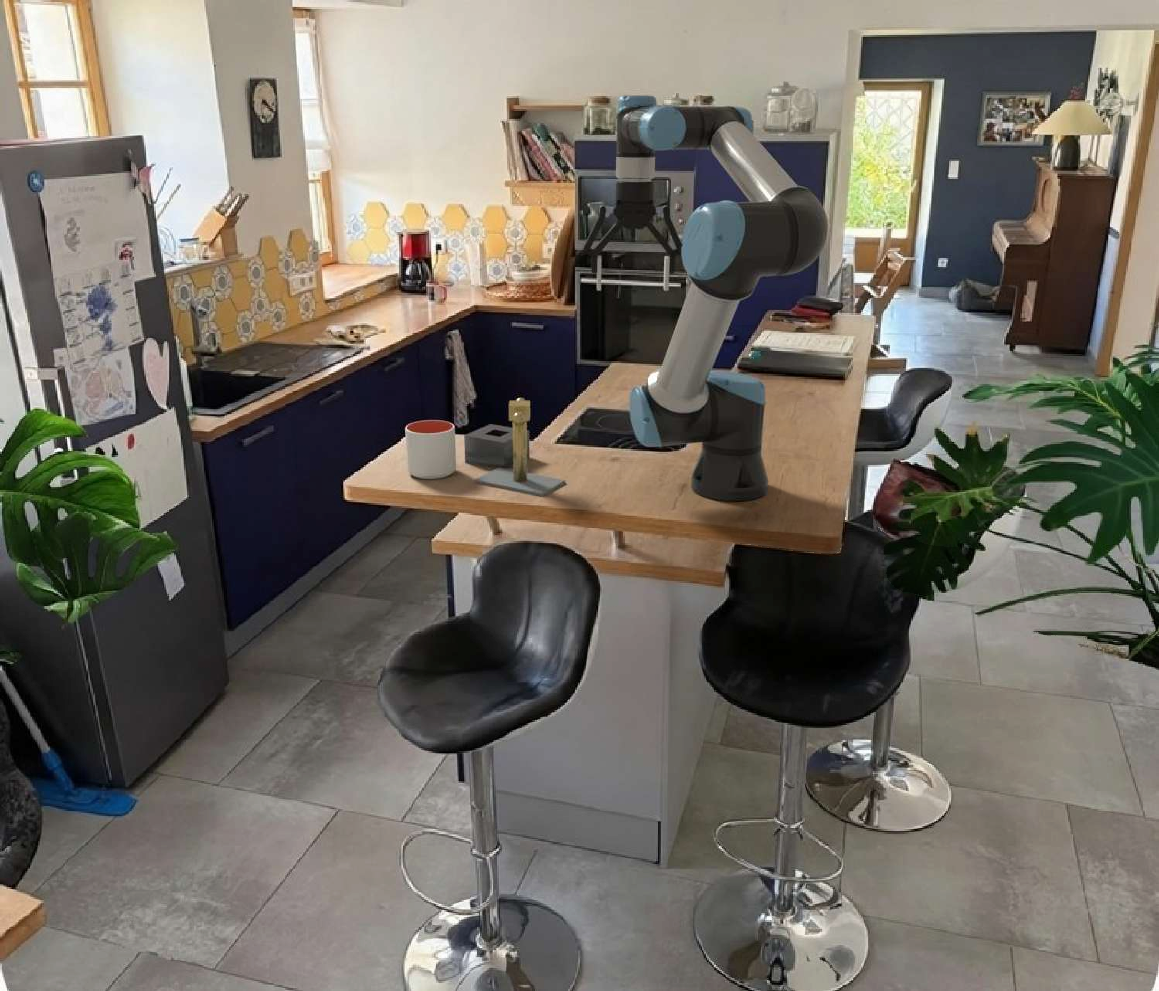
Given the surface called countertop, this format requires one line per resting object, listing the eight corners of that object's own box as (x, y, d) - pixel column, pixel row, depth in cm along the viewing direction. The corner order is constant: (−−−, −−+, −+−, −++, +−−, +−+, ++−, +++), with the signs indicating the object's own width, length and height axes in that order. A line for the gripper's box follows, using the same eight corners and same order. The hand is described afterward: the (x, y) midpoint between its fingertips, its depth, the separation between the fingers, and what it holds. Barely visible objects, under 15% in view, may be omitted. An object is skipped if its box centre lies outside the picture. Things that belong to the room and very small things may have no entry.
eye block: (529, 457, 222) (529, 430, 220) (504, 470, 214) (503, 442, 212) (491, 450, 226) (490, 424, 224) (465, 462, 218) (464, 435, 216)
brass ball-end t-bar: (529, 491, 200) (528, 412, 194) (508, 491, 200) (507, 412, 194) (531, 469, 212) (530, 394, 207) (511, 469, 212) (510, 394, 207)
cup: (447, 482, 206) (445, 435, 203) (400, 479, 208) (397, 432, 205) (462, 467, 215) (460, 421, 212) (417, 463, 217) (415, 418, 214)
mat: (565, 482, 206) (565, 480, 206) (542, 496, 199) (542, 493, 199) (499, 469, 214) (499, 467, 213) (474, 482, 206) (474, 479, 206)
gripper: (696, 179, 203) (691, 287, 210) (571, 178, 202) (570, 286, 210) (701, 181, 196) (696, 292, 203) (571, 180, 195) (570, 292, 203)
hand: (632, 289), depth 206 cm, fingers open, 13 cm apart
